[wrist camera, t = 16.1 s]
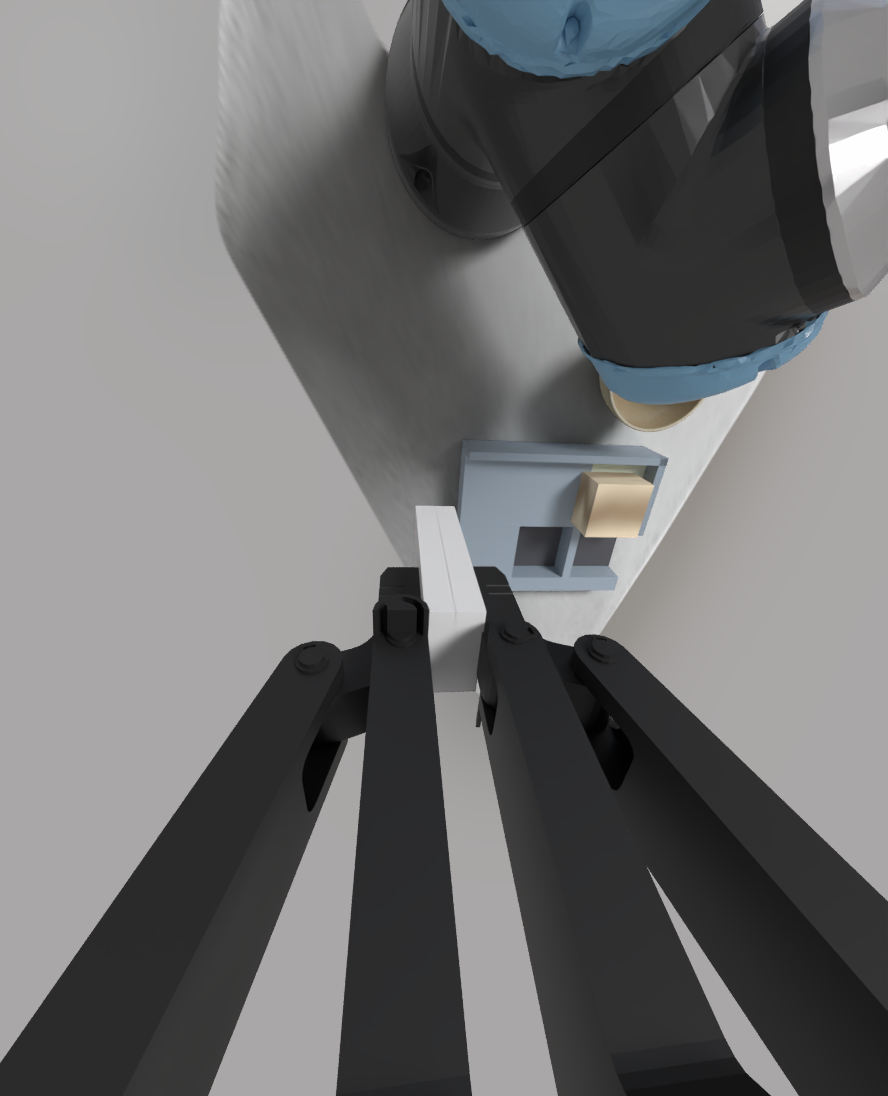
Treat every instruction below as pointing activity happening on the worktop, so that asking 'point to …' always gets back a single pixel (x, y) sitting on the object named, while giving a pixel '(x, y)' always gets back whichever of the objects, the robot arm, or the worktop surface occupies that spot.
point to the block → (611, 504)
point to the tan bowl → (647, 411)
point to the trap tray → (542, 510)
